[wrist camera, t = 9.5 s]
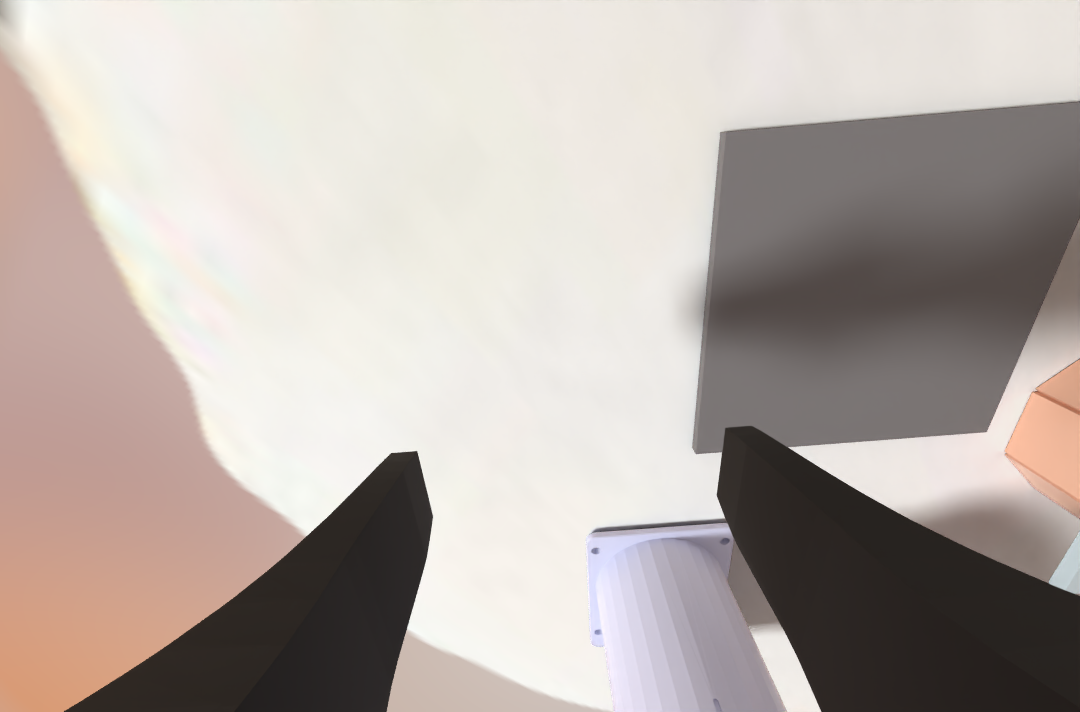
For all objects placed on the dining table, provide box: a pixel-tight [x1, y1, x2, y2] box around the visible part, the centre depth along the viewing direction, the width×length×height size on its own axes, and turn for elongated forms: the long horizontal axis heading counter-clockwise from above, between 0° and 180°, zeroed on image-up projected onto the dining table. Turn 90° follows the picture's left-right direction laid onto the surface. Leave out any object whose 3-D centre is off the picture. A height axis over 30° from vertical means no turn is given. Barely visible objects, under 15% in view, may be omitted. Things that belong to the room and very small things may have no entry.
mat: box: [692, 102, 1080, 454], centre depth 19 cm, size 14×14×1 cm
